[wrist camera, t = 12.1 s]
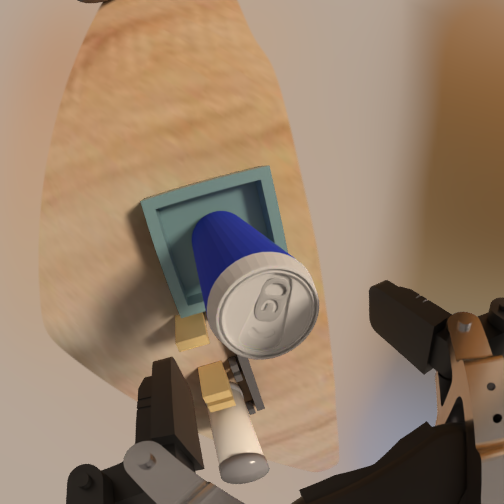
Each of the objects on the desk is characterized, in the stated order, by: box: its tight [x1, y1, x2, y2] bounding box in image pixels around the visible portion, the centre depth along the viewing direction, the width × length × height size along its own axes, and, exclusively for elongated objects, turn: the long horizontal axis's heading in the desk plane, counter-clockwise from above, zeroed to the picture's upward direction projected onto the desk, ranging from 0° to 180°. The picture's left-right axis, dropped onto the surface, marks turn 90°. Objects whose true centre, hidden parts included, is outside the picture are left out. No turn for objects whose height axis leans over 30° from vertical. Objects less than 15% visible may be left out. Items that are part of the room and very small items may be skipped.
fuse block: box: [175, 312, 265, 415], centre depth 28 cm, size 17×6×5 cm, turn 14°
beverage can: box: [192, 211, 319, 359], centre depth 19 cm, size 5×5×15 cm
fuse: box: [206, 381, 270, 484], centre depth 26 cm, size 5×5×12 cm
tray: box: [140, 166, 288, 318], centre depth 25 cm, size 11×11×3 cm
